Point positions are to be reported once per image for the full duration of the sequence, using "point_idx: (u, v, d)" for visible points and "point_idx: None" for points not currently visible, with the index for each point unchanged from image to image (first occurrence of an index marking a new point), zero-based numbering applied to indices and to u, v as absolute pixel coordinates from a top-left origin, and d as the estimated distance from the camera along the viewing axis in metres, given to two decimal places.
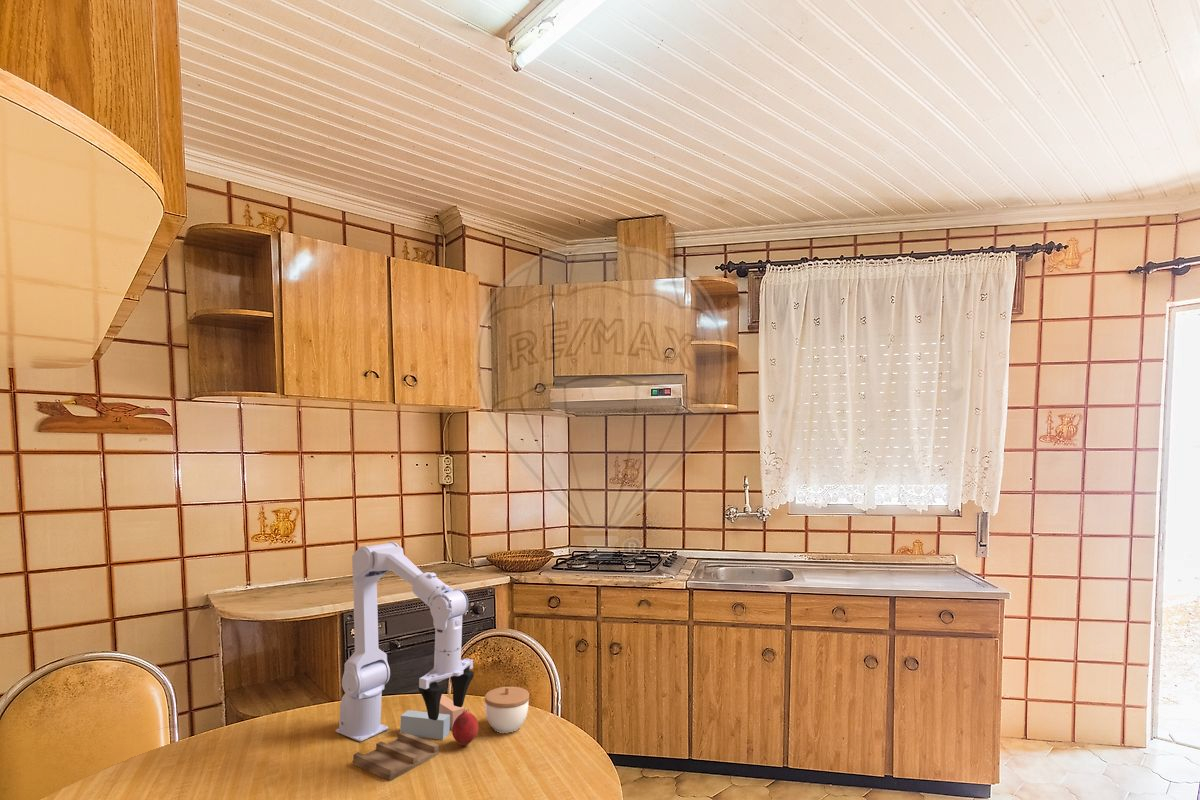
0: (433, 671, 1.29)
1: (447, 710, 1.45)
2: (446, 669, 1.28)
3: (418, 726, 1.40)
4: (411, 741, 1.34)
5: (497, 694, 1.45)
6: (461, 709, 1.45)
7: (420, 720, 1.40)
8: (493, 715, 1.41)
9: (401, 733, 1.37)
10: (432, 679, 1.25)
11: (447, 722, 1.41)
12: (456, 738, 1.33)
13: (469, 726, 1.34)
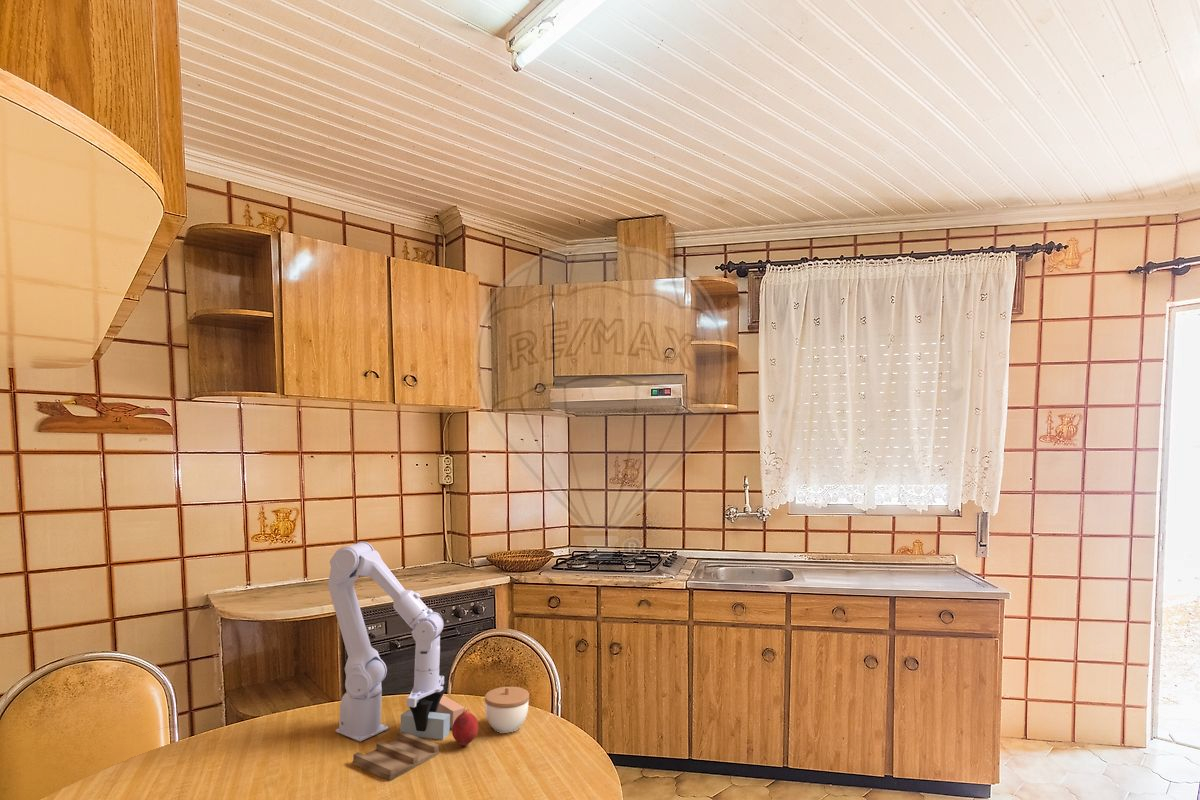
0: (414, 690, 1.40)
1: (448, 710, 1.45)
2: (429, 687, 1.40)
3: None
4: (411, 741, 1.34)
5: (497, 694, 1.45)
6: (461, 709, 1.45)
7: None
8: (493, 715, 1.41)
9: (401, 733, 1.37)
10: (419, 697, 1.36)
11: (447, 721, 1.41)
12: (456, 738, 1.33)
13: (469, 726, 1.34)
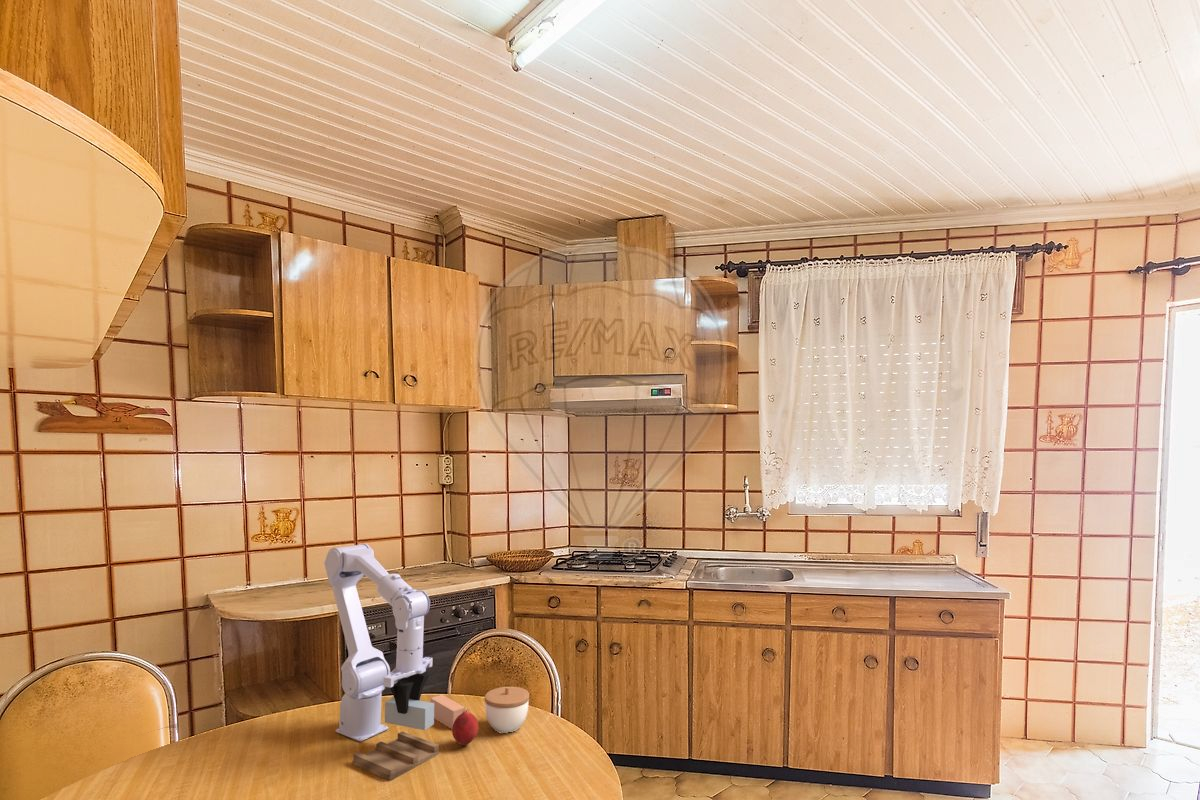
0: (396, 670, 1.34)
1: (448, 710, 1.45)
2: (409, 667, 1.33)
3: (401, 713, 1.33)
4: (411, 741, 1.34)
5: (497, 694, 1.45)
6: (461, 709, 1.45)
7: None
8: (493, 715, 1.41)
9: (401, 733, 1.37)
10: (396, 677, 1.30)
11: (430, 711, 1.33)
12: (456, 738, 1.33)
13: (469, 726, 1.34)
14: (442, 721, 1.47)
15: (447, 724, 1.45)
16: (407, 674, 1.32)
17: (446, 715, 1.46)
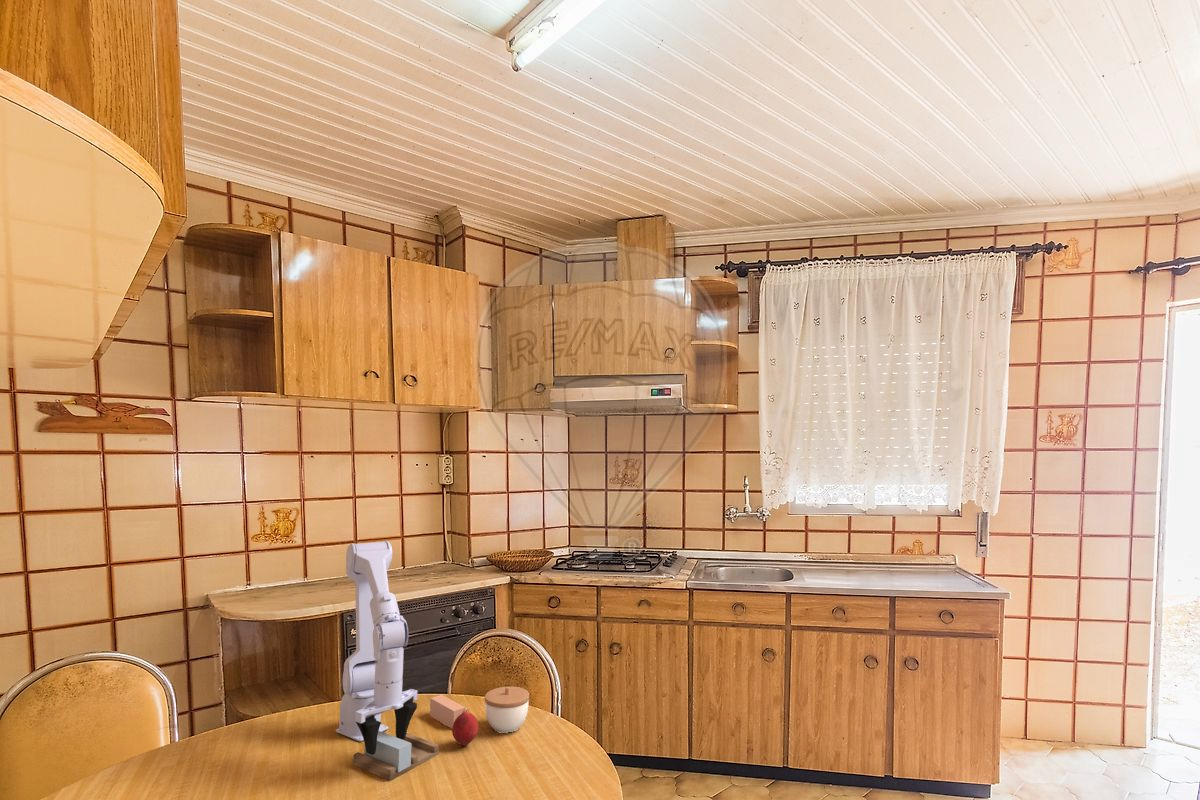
0: (372, 703, 1.27)
1: (448, 710, 1.45)
2: (385, 702, 1.25)
3: (378, 751, 1.26)
4: (411, 741, 1.34)
5: (497, 694, 1.45)
6: (462, 709, 1.45)
7: (380, 745, 1.26)
8: (493, 715, 1.41)
9: None
10: (368, 713, 1.23)
11: (406, 751, 1.24)
12: (456, 738, 1.33)
13: (469, 726, 1.34)
14: (442, 721, 1.47)
15: (447, 724, 1.45)
16: (381, 709, 1.24)
17: (446, 716, 1.46)
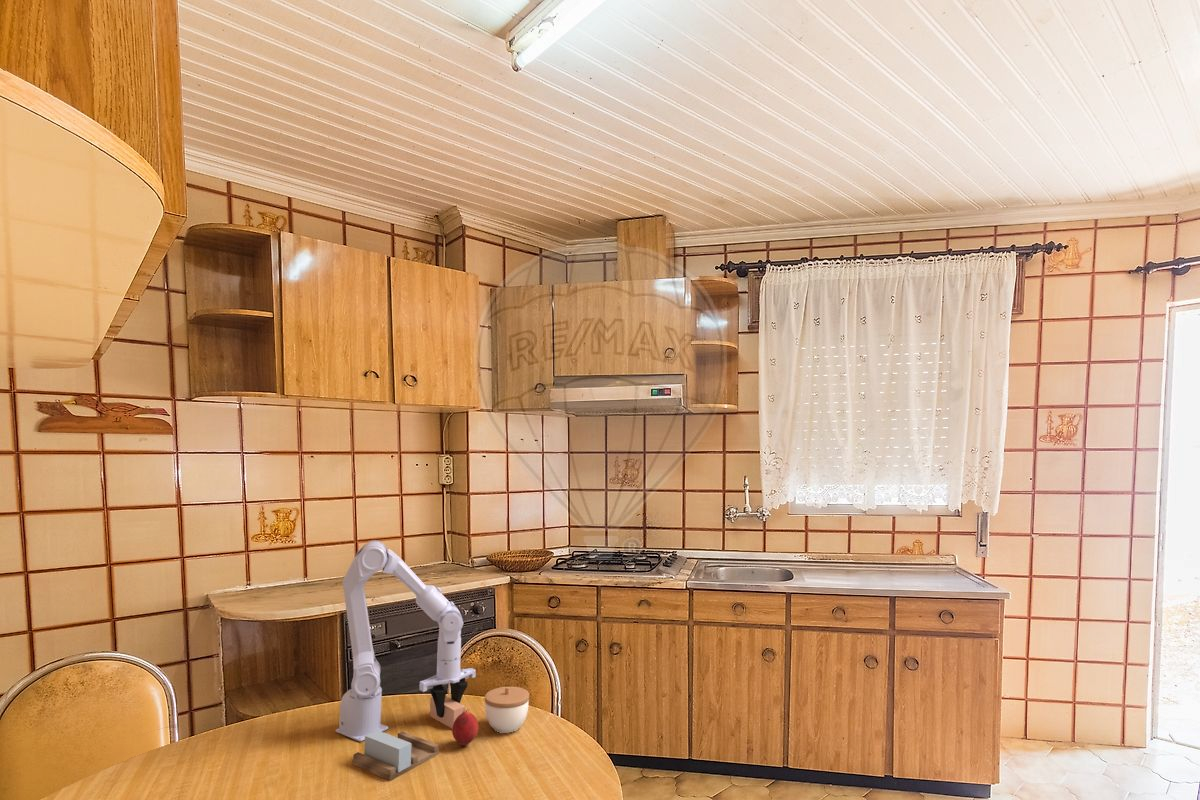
0: (435, 676, 1.49)
1: (448, 709, 1.45)
2: (444, 676, 1.47)
3: (378, 751, 1.26)
4: (411, 741, 1.34)
5: (497, 694, 1.45)
6: (462, 708, 1.45)
7: (380, 745, 1.26)
8: (493, 715, 1.41)
9: (401, 733, 1.37)
10: (429, 683, 1.45)
11: (406, 751, 1.24)
12: (456, 738, 1.33)
13: (469, 726, 1.34)
14: (442, 720, 1.47)
15: (447, 723, 1.45)
16: (440, 682, 1.46)
17: (446, 715, 1.46)
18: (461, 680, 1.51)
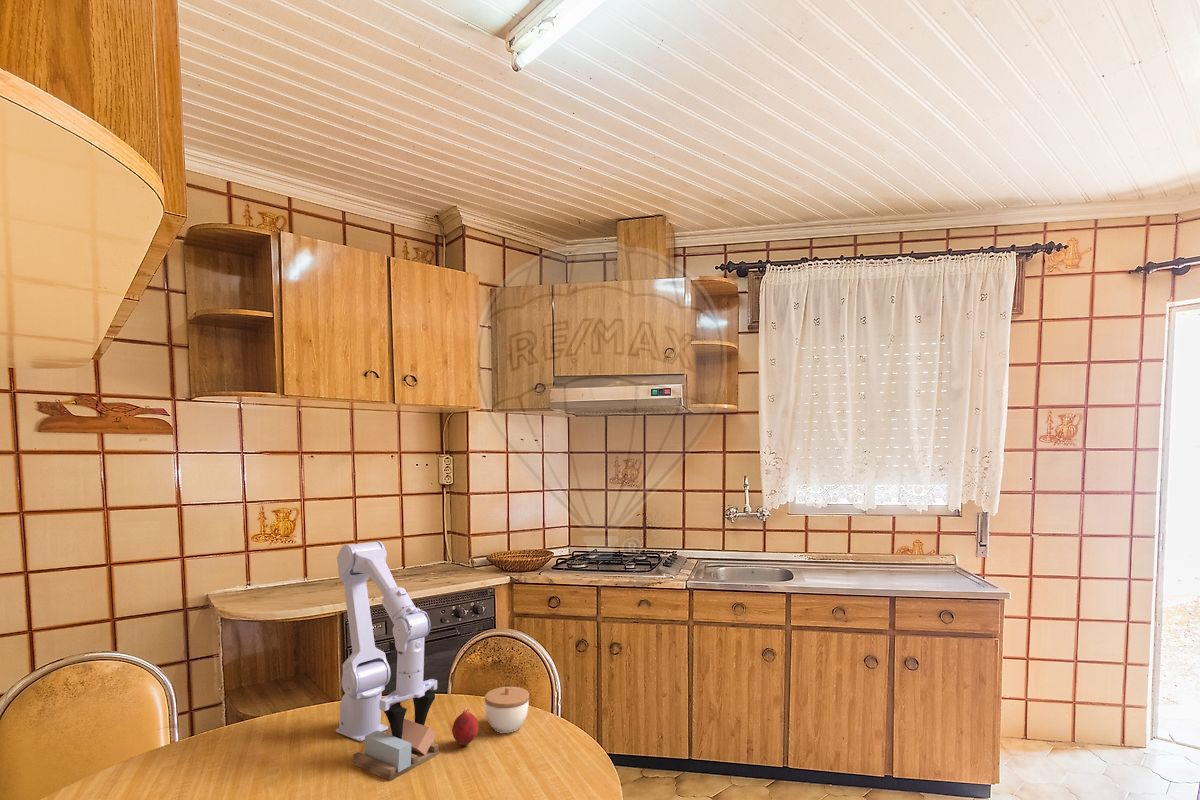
0: (395, 692, 1.32)
1: (420, 727, 1.32)
2: (407, 691, 1.30)
3: (378, 751, 1.26)
4: None
5: (497, 694, 1.45)
6: (434, 733, 1.32)
7: (380, 745, 1.26)
8: (493, 715, 1.41)
9: None
10: (392, 701, 1.28)
11: (406, 751, 1.24)
12: (456, 738, 1.33)
13: (469, 726, 1.34)
14: (403, 739, 1.31)
15: (410, 742, 1.29)
16: (404, 698, 1.29)
17: (413, 733, 1.31)
18: None
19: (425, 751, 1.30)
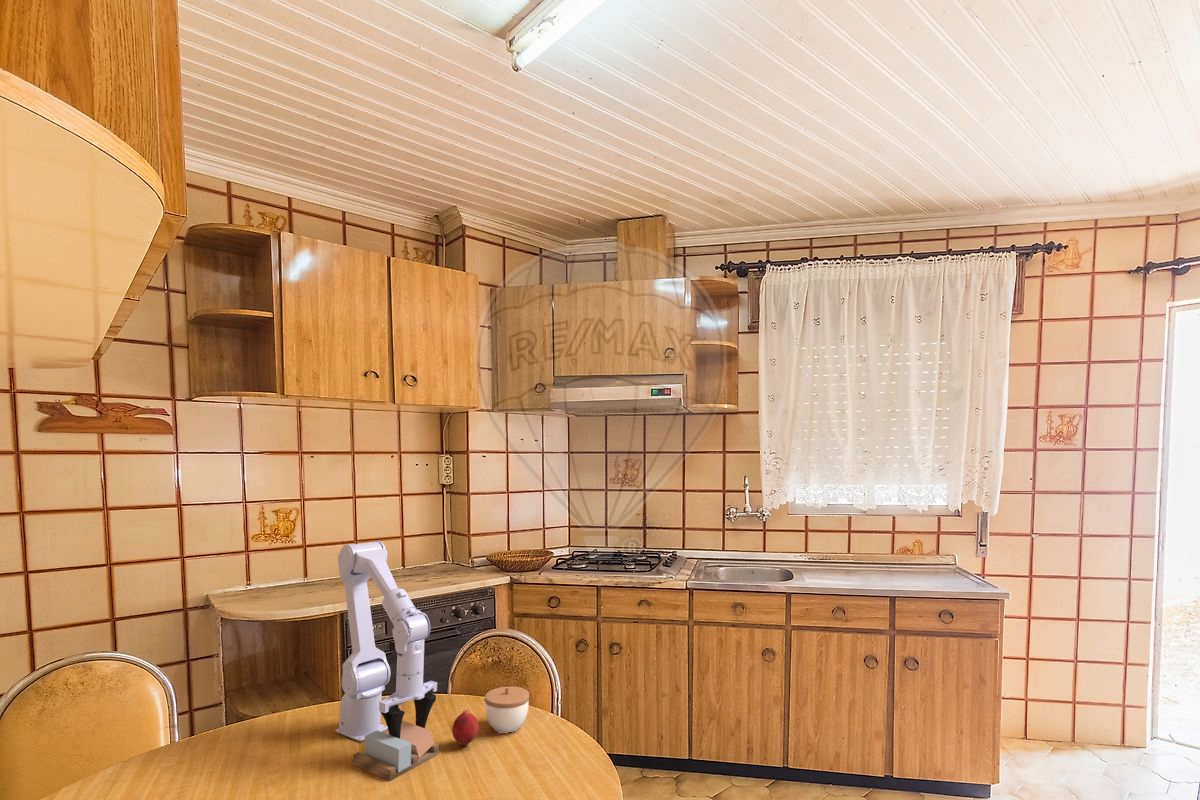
0: (395, 694, 1.31)
1: (421, 729, 1.32)
2: (407, 693, 1.30)
3: (378, 751, 1.26)
4: None
5: (497, 694, 1.45)
6: (432, 740, 1.31)
7: (380, 745, 1.26)
8: (493, 715, 1.41)
9: None
10: (392, 703, 1.27)
11: (406, 751, 1.24)
12: (456, 738, 1.34)
13: (469, 726, 1.34)
14: (402, 737, 1.31)
15: (410, 740, 1.29)
16: (404, 700, 1.29)
17: (414, 733, 1.31)
18: None
19: (420, 754, 1.28)
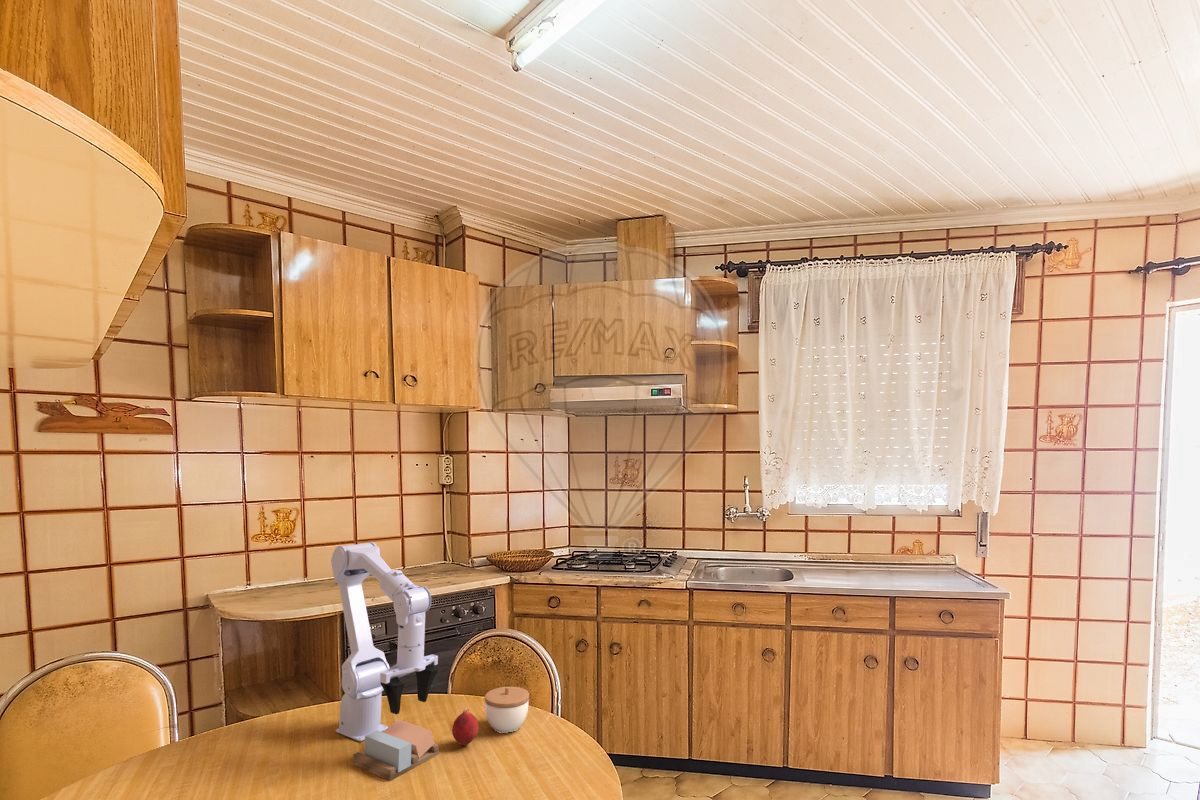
0: (396, 666, 1.32)
1: (421, 729, 1.32)
2: (408, 664, 1.31)
3: (378, 751, 1.26)
4: None
5: (497, 694, 1.45)
6: (432, 740, 1.31)
7: (380, 745, 1.26)
8: (493, 715, 1.41)
9: None
10: (393, 674, 1.28)
11: (406, 751, 1.24)
12: (456, 738, 1.33)
13: (469, 726, 1.34)
14: (402, 737, 1.31)
15: (410, 740, 1.29)
16: (405, 671, 1.30)
17: (414, 733, 1.31)
18: None
19: (420, 754, 1.28)
